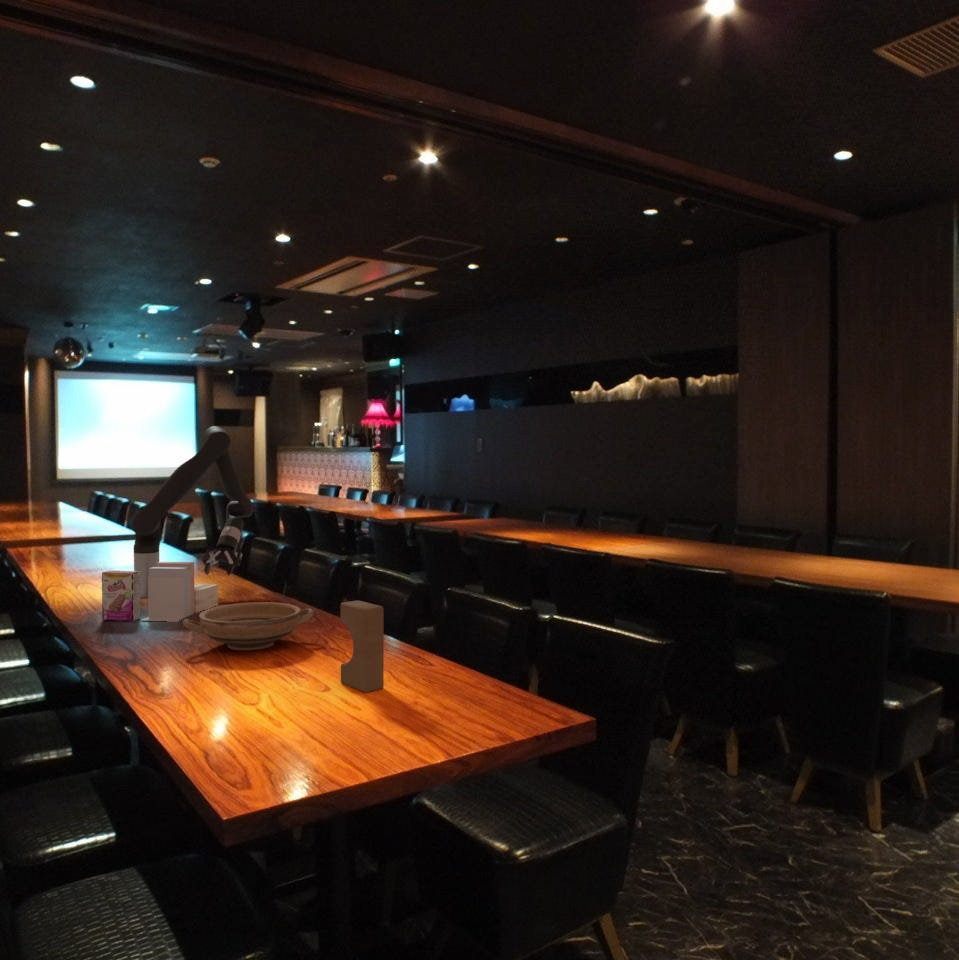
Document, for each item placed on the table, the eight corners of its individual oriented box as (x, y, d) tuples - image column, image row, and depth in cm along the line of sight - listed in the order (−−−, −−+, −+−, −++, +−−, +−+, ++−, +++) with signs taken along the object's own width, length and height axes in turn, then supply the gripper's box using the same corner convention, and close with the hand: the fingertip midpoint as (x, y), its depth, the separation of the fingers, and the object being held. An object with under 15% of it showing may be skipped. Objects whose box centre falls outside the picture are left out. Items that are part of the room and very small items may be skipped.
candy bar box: (101, 621, 262) (100, 572, 262) (109, 618, 267) (109, 570, 267) (133, 622, 261) (132, 572, 261) (141, 618, 266) (140, 570, 266)
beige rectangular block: (178, 613, 277) (177, 590, 276) (201, 605, 290) (200, 583, 290) (196, 614, 275) (195, 591, 275) (218, 606, 289) (217, 584, 288)
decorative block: (339, 683, 194) (339, 602, 193) (359, 678, 198) (359, 599, 197) (364, 693, 186) (364, 609, 185) (384, 688, 189) (384, 606, 189)
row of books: (141, 621, 262) (141, 567, 261) (161, 612, 276) (160, 561, 275) (176, 622, 261) (176, 568, 260) (194, 613, 275) (194, 562, 274)
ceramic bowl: (189, 664, 210) (188, 627, 210) (178, 641, 236) (178, 608, 235) (325, 649, 226) (325, 615, 226) (301, 629, 252) (301, 597, 252)
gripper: (208, 533, 310) (196, 567, 299) (244, 535, 309) (233, 568, 298) (213, 545, 315) (201, 578, 304) (248, 546, 314) (238, 579, 303)
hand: (217, 573), depth 301 cm, fingers open, 8 cm apart
